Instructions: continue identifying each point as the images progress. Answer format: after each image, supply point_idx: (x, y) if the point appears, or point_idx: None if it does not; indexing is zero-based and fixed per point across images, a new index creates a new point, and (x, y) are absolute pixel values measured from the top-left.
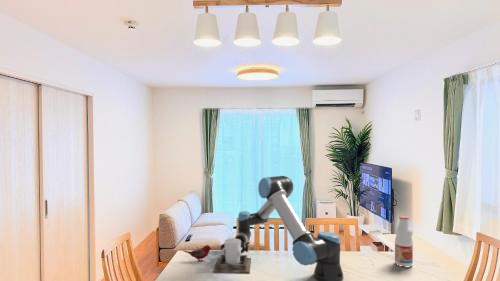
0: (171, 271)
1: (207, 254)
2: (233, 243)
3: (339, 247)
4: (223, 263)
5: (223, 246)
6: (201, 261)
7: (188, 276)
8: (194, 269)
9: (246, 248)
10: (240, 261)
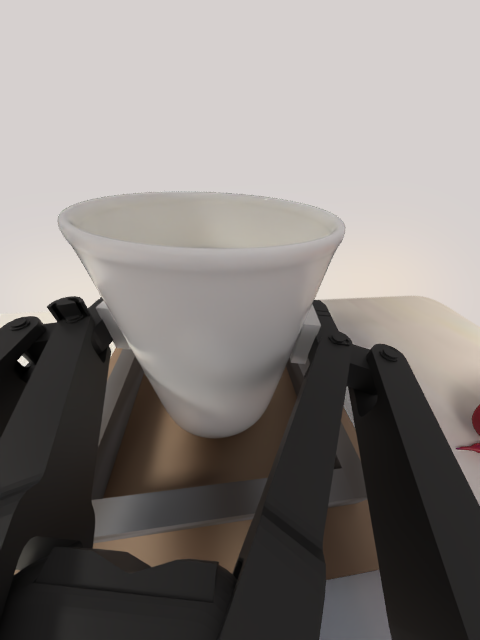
0: (450, 319)
1: (474, 415)
2: (216, 344)
3: None
4: (285, 395)
5: (357, 355)
6: (475, 445)
7: (356, 298)
8: (389, 339)
9: (41, 325)
10: (156, 455)
